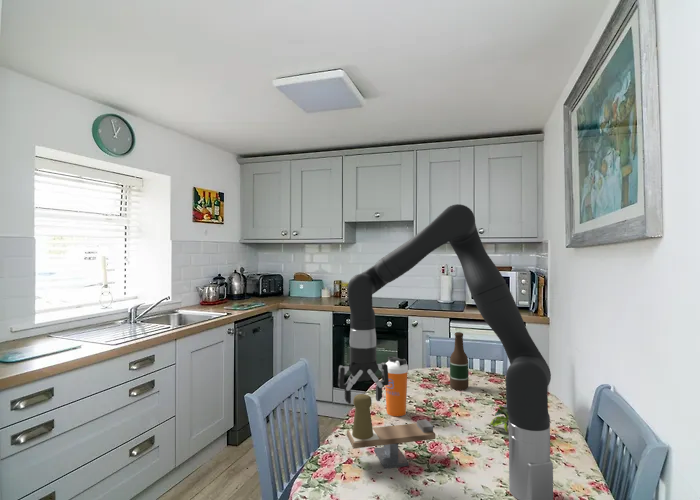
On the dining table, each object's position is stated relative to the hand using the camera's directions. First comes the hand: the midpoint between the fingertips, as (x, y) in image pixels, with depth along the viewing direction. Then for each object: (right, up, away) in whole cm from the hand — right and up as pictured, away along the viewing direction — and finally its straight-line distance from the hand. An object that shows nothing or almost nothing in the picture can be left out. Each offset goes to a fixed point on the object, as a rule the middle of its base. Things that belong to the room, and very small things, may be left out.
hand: (363, 401), depth 114 cm
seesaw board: (+8, -11, +2) cm, 14 cm away
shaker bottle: (+13, -17, +35) cm, 41 cm away
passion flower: (+49, -17, +19) cm, 56 cm away
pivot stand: (+8, -17, +2) cm, 19 cm away
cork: (0, -10, 0) cm, 10 cm away
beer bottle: (+44, -18, +62) cm, 78 cm away
